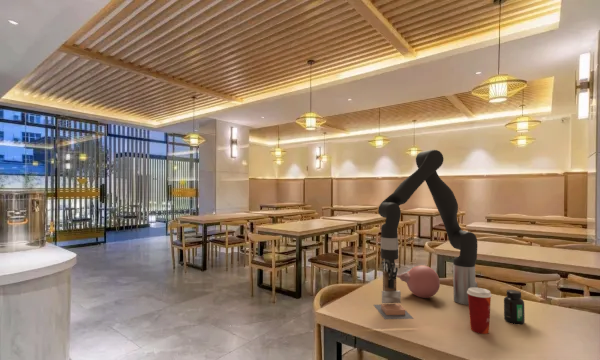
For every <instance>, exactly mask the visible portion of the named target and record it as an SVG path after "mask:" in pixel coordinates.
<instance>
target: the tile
mask: <svg viewBox="0 0 600 360" xmlns="http://www.w3.org/2000/svg"><path fill="white" fill-rule="evenodd" d="M380 305H381V309H382V310H383V312H384V313H385V314H386V315H405V310H406V309H405V308H404V307H403V306H402V305H401V303H381V304H380Z"/></svg>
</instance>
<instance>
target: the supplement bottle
mask: <svg viewBox="0 0 600 360" xmlns="http://www.w3.org/2000/svg"><path fill="white" fill-rule="evenodd" d="M525 316H526V315H525V301H524V300H523V298H522V292H521V291H520V290H519V291H518V290H514V289H507V290H506V295H505V297H504V298H503V319H504V321H505V322H507V323H509V324H510V325H511V324H512V325H517V326H521V325H522V326H523V325H524V324H525V322H526V321H525Z"/></svg>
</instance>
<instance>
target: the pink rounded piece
mask: <svg viewBox="0 0 600 360" xmlns="http://www.w3.org/2000/svg"><path fill="white" fill-rule="evenodd" d="M396 278H399V279H400V280H401V282H405V284H406V285H407V287H408V289H409V292H410V293H412V294H413V295H414V296H416V297H418V298H422V299H429V298H432V297H434V296H435V295H436V294H437V293H438V292H439V290H440V288H441V287H440V286H441V282H440V281H441V280H440V277H439V275H438V273H437V272H436V271H435V270H434V269H433V268H431V267H430V266H428V265H421V264H419V265H415V266H413V267H412V268H411V269H409V270H408V271H406V272H404V273H402V274H397V276H396Z"/></svg>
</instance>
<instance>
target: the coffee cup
mask: <svg viewBox="0 0 600 360" xmlns="http://www.w3.org/2000/svg"><path fill="white" fill-rule="evenodd" d="M467 293H468V302H469V305H468V314H469V324H470V325H469V326H470V330H471V332H474V333H476V334H479V335H487V334H489V333H490V322H491V321H490V320H491V319H490V318H491V301H492V300H491V299H492V298H491V297H492V296H493V295H492V293H491V291H490V290H489V289H486V288H482V287H477V288H476V287H472V288H469V289H468V291H467Z"/></svg>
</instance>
